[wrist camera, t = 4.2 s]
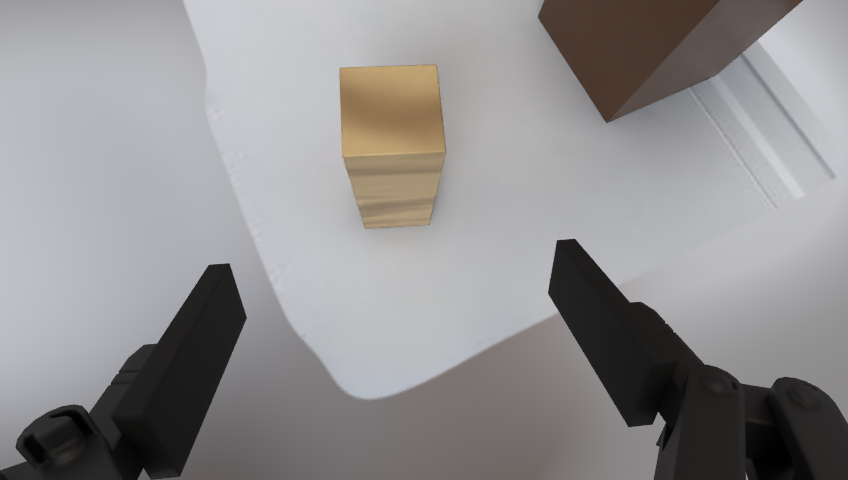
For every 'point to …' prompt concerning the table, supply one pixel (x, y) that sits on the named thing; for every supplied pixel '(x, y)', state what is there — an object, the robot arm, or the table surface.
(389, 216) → the block
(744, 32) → the pedestal with orange tray
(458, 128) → the table surface
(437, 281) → the table surface
